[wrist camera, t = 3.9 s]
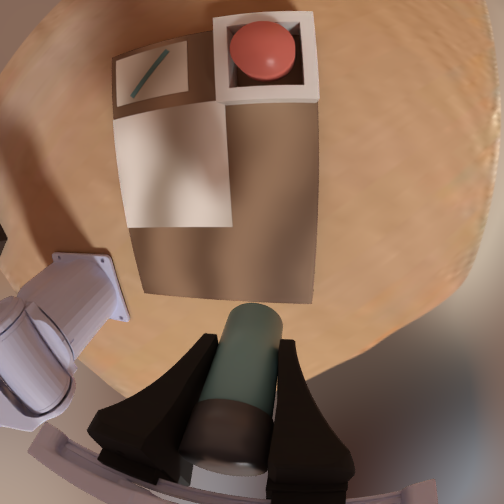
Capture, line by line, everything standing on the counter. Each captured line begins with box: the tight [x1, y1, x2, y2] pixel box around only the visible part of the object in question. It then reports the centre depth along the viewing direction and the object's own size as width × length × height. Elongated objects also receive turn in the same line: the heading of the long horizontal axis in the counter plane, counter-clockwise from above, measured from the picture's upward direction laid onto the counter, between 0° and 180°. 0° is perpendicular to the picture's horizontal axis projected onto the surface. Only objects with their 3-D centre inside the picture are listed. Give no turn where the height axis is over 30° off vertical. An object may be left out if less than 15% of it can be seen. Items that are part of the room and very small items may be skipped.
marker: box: [178, 303, 283, 476], centre depth 11 cm, size 3×3×8 cm
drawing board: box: [112, 31, 319, 304], centre depth 19 cm, size 15×21×1 cm
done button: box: [230, 21, 295, 82], centre depth 12 cm, size 3×3×2 cm
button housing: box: [213, 11, 320, 105], centre depth 13 cm, size 6×6×2 cm
